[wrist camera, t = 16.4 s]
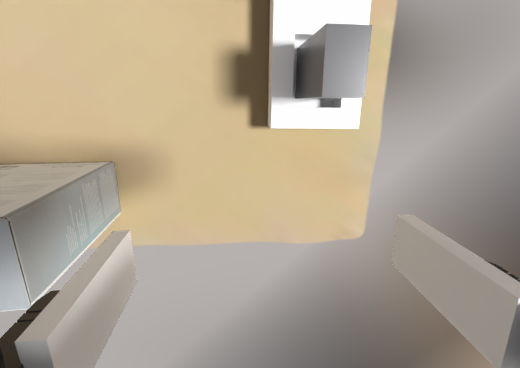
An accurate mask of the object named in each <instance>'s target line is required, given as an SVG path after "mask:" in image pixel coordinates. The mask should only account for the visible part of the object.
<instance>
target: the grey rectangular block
mask: <svg viewBox="0 0 520 368" xmlns="http://www.w3.org/2000/svg"><path fill="white" fill-rule="evenodd" d="M371 31H372V25H357V24H329V23H327V24H325V25H324V26H323V27H322V28H321V29H319V30H318V31H317V32H316V33H315V34H313V35H312V36H311V37H310V38H309V39H308V40H306V41H305V42H304V43H303V44H302V45H300V46H299V47H298V48H297V67H296V91H295V99H343V98H365V91H366V81H367V71H368V61H369V51H370V41H371Z"/></svg>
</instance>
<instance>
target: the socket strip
mask: <svg viewBox="0 0 520 368" xmlns="http://www.w3.org/2000/svg"><path fill="white" fill-rule="evenodd" d="M370 9H371V0H270V31H269V85H268V127H270V128H307V129H359V121H360V111H361V101H362V98H343V99H295V91H296V67H297V48H298V47H299V46H300V45H302V44H303V43H304V42H305V41H306V40H308V39H309V38H310V37H311V36H312V35H313V34H315V33H316V32H317V31H318V30H319V29H321V28H322V27H323V26H324V25H325V24H327V23H329V24H357V25H369V19H370Z"/></svg>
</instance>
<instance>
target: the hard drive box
mask: <svg viewBox="0 0 520 368" xmlns="http://www.w3.org/2000/svg"><path fill="white" fill-rule="evenodd" d="M120 214H121V207H120V200H119V192H118V186H117V178H116V172H115V166H114V162H83V163H45V164H3V165H0V311H10V310H22V309H23V310H24V309H29V308H30V307H31V306H32V305H33V304H34V303H35V302H36V301H37V300H38V299H40V298H41V297H42V296H43V295H44V294H45V293H46V292H47V290H49V288H50V287H51V286H52V285H53V284H54V283H55V282H56V281H57V280H58V279H59V278H60V277H61V276H62V275H63V274H64V273H65V272H66V271H67V269H68V268H69V267H70V266H71V265H72V264H73V263H74V262H75V261H76V260H77V259H78V258H79V257H80V256H81V255H82V254H83V253H84V252H85V251H86V250H87V248H88V247H89V246H90V245H91V244H92V243H93V242H94V241H95V240H96V239H97V238H98V237H99V236H100V235H101V234H102V233H103V232H104V231H105V230H106V229H107V227H108V226H109V225H110V224H111V223H112V222H113V221H114V220H115V219H116V218H117V217H118V216H119V215H120Z"/></svg>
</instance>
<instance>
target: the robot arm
mask: <svg viewBox="0 0 520 368" xmlns="http://www.w3.org/2000/svg"><path fill="white" fill-rule="evenodd" d="M392 264H393V265H394V266H395V267H396V268H397V269H398V270H399V271H400V272H401V273H402V274H403V275H404V276H405V277H406V278H407V279H408V280H409V281H410V282H411V283H412V284H413V285H414V286H415V287H416V288H417V289H418V290H419V291H420V292H421V293H422V295H423V296H425V298H426V299H427V300H429V301H430V303H431V304H433V306H434V307H435V308H436V309H438V311H439V312H440V313H441V314H442V315H443V316H444V317H445V318H446V319H447V320H448V321H449V322H450V323H451V324H452V325H453V326H454V327H455V328H456V329H457V330H458V331H459V332H460V333H461V334H462V335H463V336H464V337H465V338H466V339H467V340H468V341H469V342H470V343H471V344H472V345H473V346H474V347H475V348H476V349H477V350H478V351H479V352H480V353H481V354H482V355H483V356H484V357H485V358H486V359H487V360H488V361H489V362H490V363H491V364H492V365H493V366H494V367H495V368H520V279H519V278H517V277H515V276H514V275H512V274H510V273H509V272H508V271H506V270H504V269H503V268H501V267H499V266H498V265H496V264H493V263H491V262H488V261H486V260H484V259H482V258H480V257H479V256H477V255H475V254H474V253H472V252H471V251H469V250H468V249H466V248H464V247H463V246H461V245H460V244H458V243H456V242H455V241H453V240H452V239H450V238H448V237H447V236H445V235H444V234H442V233H440V232H439V231H437V230H436V229H434V228H432V227H431V226H429V225H428V224H426V223H424V222H423V221H421V220H420V219H418V218H417V217H415V216H413V215H412V214H410V215H409V214H408V215H397V221H396V229H395V239H394V246H393V255H392ZM136 284H137V275H136V268H135V262H134V256H133V248H132V242H131V235H130V230H127V231H113V232H112V233H111V234H110V235H109V236H108V237H107V238H106V240H105V241H104V242H103V243H102V244H101V245H100V246H99V247H98V249H97V250H96V251H95V252H94V253H93V254H92V255H91V256H90V258H89V259H88V260H87V261H86V262H85V263H84V264H83V265H82V267H81V268H80V269H79V270H78V271H77V272H76V274H75V275H74V276H73V277H72V278H71V279H70V280H69V281H68V282H67V283H66V285H65V286H64V287H63V288H62V289H61V290H58V291H51V292H49V293H48V294H46V295H45V296H43V297H41V298H40V299H38V300H37V301H36V302H35V303H34V304H33V305H32V306H31V307H30V308H29V309H28V310H27V311H26V313H25V314H23V315H22V316H21V317H20V319H18V321H17V323H15V324H14V325H13V326H12V327H11V328H10V329H9V330H8V331H7V332H6V333H5V334H4V335H3V336H2V337H1V338H0V368H94V367H95V365H96V363H97V361H98V359H99V357H100V355H101V353H102V351H103V349H104V347H105V345H106V343H107V341H108V339H109V337H110V335H111V333H112V331H113V329H114V327H115V325H116V323H117V321H118V319H119V317H120V315H121V313H122V311H123V309H124V307H125V305H126V304H127V302H128V300H129V298H130V296H131V294H132V292H133V290H134V287H135V286H136Z"/></svg>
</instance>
